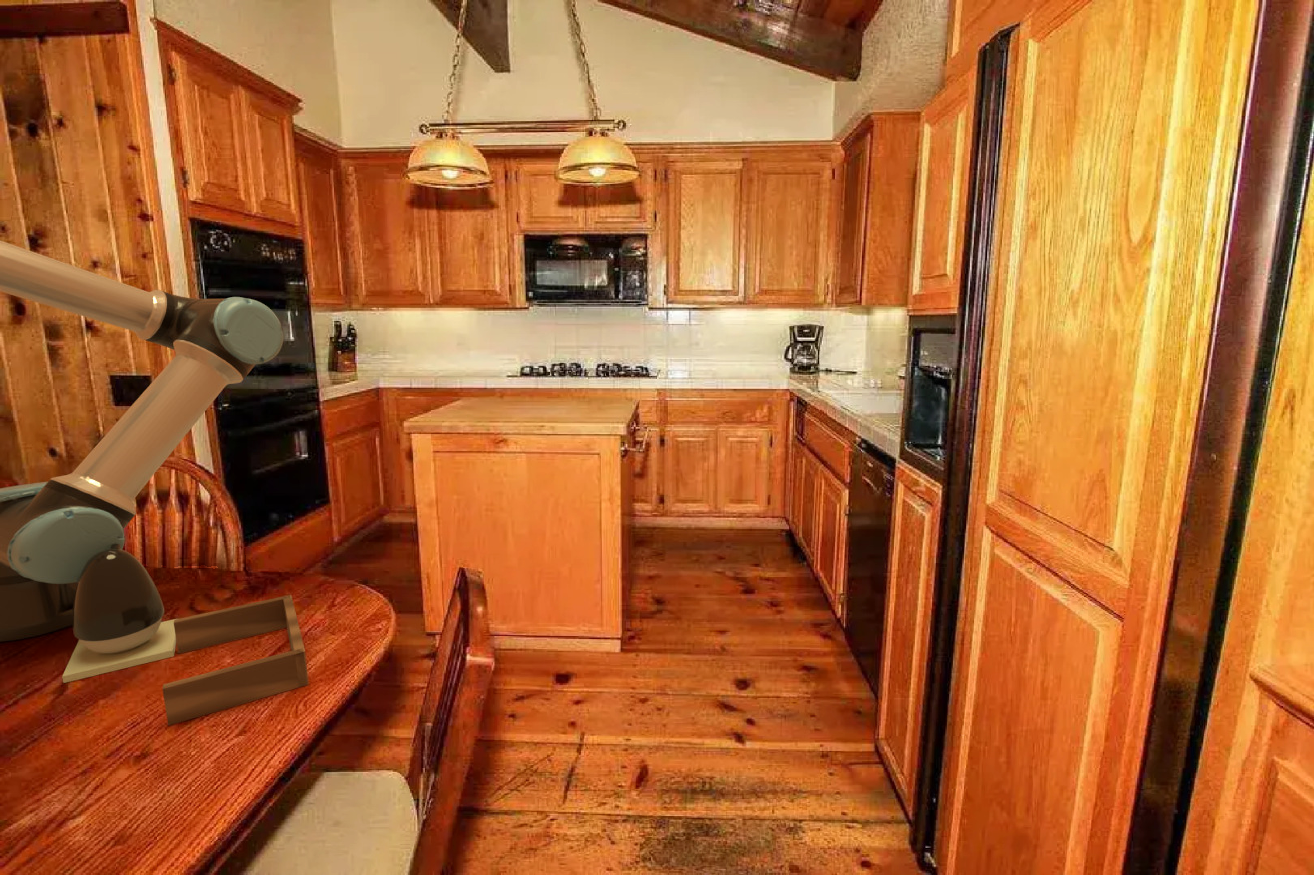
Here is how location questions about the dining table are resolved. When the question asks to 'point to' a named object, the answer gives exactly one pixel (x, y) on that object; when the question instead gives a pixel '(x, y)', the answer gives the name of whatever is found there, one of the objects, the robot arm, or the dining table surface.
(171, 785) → the dining table surface
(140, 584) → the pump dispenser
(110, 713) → the dining table surface
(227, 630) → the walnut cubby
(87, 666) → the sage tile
